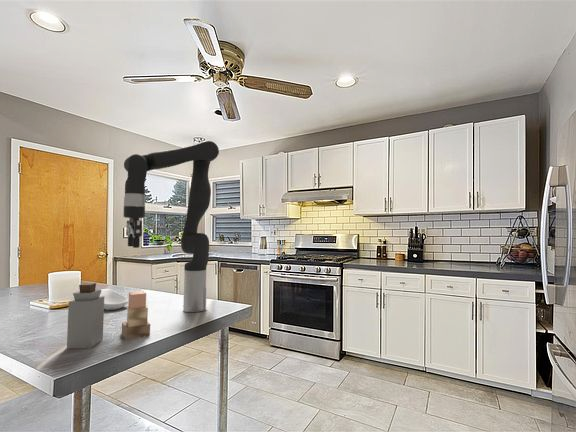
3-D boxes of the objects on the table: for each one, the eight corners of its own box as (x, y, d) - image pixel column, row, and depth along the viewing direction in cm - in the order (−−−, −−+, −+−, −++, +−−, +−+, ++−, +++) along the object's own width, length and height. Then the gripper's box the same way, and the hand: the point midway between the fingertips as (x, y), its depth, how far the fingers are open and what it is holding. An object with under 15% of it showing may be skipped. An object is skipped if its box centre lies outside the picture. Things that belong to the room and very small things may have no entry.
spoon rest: (133, 308, 136) (133, 292, 136) (103, 314, 127) (104, 296, 127) (111, 300, 151) (112, 285, 152) (84, 304, 143) (85, 288, 143)
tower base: (144, 330, 107) (144, 318, 108) (149, 336, 102) (150, 323, 102) (121, 334, 103) (122, 322, 103) (126, 340, 98) (126, 328, 98)
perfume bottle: (80, 340, 97) (82, 282, 98) (102, 339, 98) (104, 282, 98) (66, 348, 90) (69, 286, 91) (91, 347, 91) (93, 286, 92)
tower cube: (145, 320, 106) (145, 304, 106) (147, 324, 101) (147, 307, 102) (127, 322, 103) (127, 306, 103) (128, 327, 98) (129, 309, 99)
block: (143, 304, 106) (143, 291, 106) (145, 307, 102) (146, 293, 102) (128, 306, 103) (128, 292, 103) (130, 309, 99) (131, 294, 100)
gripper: (120, 206, 125) (119, 246, 125) (128, 204, 114) (126, 248, 113) (140, 206, 130) (139, 245, 129) (149, 205, 119) (148, 247, 118)
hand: (133, 246), depth 121 cm, fingers open, 8 cm apart
